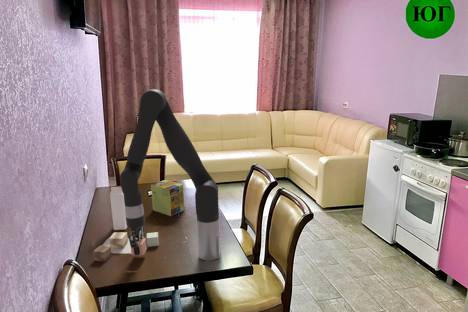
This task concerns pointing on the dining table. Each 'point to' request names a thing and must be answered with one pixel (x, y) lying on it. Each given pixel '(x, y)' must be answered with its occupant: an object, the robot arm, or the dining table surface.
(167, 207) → the protein box
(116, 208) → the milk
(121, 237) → the birch block
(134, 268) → the dining table surface
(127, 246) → the mat
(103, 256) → the walnut block
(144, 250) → the terracotta block
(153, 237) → the sage block
